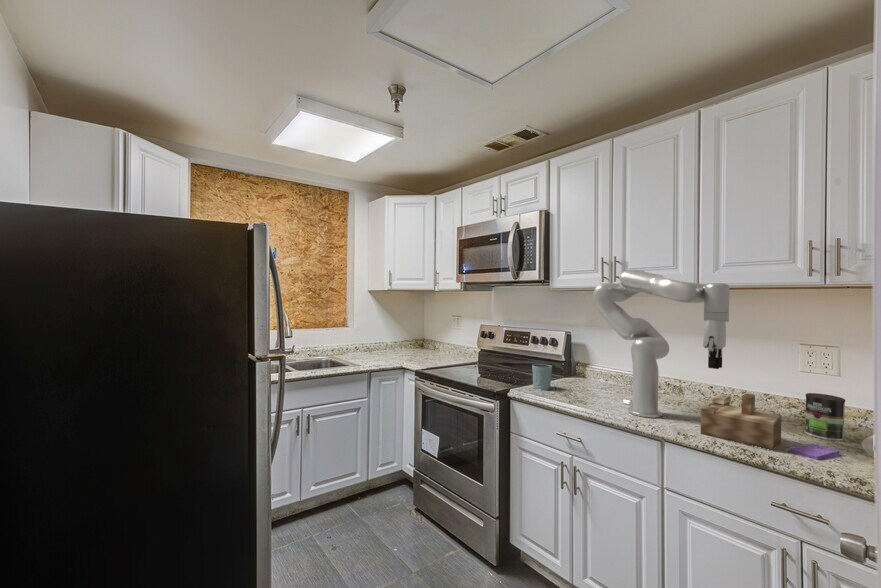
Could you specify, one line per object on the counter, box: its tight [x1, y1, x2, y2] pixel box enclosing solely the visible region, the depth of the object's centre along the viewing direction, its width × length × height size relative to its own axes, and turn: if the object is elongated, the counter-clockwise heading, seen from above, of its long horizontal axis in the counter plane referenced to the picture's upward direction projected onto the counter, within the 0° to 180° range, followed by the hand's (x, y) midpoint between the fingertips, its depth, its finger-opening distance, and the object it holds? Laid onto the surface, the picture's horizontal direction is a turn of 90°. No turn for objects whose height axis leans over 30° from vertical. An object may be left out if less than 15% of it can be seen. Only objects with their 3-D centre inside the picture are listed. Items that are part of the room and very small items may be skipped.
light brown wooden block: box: [712, 393, 731, 405], centre depth 152 cm, size 4×8×2 cm, turn 132°
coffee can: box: [804, 392, 846, 442], centre depth 144 cm, size 10×10×14 cm
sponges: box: [789, 442, 841, 461], centre depth 127 cm, size 7×13×2 cm, turn 112°
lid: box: [708, 393, 782, 426], centre depth 140 cm, size 19×14×7 cm
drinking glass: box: [531, 363, 553, 391], centre depth 209 cm, size 10×10×12 cm
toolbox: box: [700, 401, 782, 451], centre depth 142 cm, size 20×20×9 cm
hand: (715, 367), depth 146 cm, fingers open, 3 cm apart
